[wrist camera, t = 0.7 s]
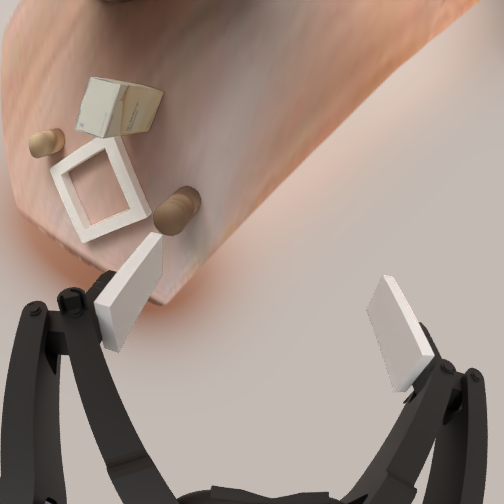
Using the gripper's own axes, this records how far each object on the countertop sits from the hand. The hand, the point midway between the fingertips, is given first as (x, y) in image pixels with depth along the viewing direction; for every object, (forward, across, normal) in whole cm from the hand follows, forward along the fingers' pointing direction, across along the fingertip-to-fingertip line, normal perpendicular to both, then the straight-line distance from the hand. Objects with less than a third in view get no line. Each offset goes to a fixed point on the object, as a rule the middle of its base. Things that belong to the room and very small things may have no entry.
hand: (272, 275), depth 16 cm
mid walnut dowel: (+24, -11, -5) cm, 27 cm away
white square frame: (+24, -26, -5) cm, 36 cm away
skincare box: (+24, -19, +7) cm, 32 cm away
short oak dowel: (+24, -36, +2) cm, 43 cm away
